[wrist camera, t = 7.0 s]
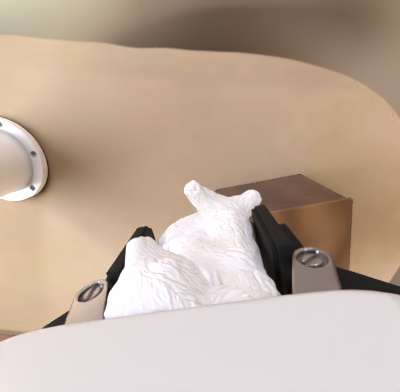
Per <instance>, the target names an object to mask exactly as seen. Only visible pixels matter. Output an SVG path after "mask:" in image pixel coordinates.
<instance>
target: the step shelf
mask: <svg viewBox="0 0 400 392" xmlns="http://www.w3.org/2000/svg"><path fill="white" fill-rule="evenodd" d="M247 190H256V191H258V192H259V194H260V197H261V198H262V201H261V203H260V205H263V204H264V205H265V206H266V207H267V209H268V210H269V212H270V213H271V214H272V216H273V217H274V219H275V220H276V221H277V223H278V224H283V223H285V224H286V225H287V226H288V227H289V229H290V230H291V231H292V232H293V234H294V235H295V236H296V237H297V239H298V240H299V241H300V243H301V244H302V245H303V246H304V247H314V248H319V249H322V250H324V251H326V252H328V253H329V254H330V255H331V256H332V257H333V259H334V262H335V266H336V267H339V268H342V269H346V270H349V263H350V243H351V223H352V204H353V199H352V198H345V197H343V196H341V195H339V194H338V193H336V192H334V191H332V190H330V189H328V188H326V187H324V186H322V185H320V184H318V183H317V182H315V181H313V180H311V179H309V178H307V177H305V176H303V175H301V174H298V175H292V176H287V177H282V178H277V179H271V180H266V181H261V182H255V183H250V184H245V185H240V186H234V187H229V188H224V189H218V190H215V191H216V193H217V194H220V195H224V196H227V197H232V196H236V195H241V194H243V193H244V192H246V191H247ZM249 219H250V221H251V222H252V223H253V219H252V215H251V216H250V217H249ZM254 241H255V242H256V239H254Z"/></svg>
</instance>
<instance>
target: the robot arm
mask: <svg viewBox="0 0 400 392" xmlns="http://www.w3.org/2000/svg"><path fill="white" fill-rule="evenodd" d="M47 175H48V168H47V162H46V158H45V156H44V153H43V151H42V149H41V148H40V146H39V144H38V143H37V141H36V140H35V139H34V138H33V137H32V135H31V134H29V133H28V132H27V131H26V130H25V129H24V128H22V127H21V126H19V125H18V124H16V123H14V122H12V121H10V120H8V119H4V118H1V117H0V198H1V199H5V200H11V201H19V200H24V199H27V198H30V197H32V196H34V195H36V194H37V193H39V192H40V191H41V190H42V188H43V187H44V185H45V183H46V181H47ZM251 213H252V219H253V224H254V230H255V235H256V237H255V239H256V244H257V245H258V247H259V249H260V253H261V258H262V262H263V267H264V269H265V271H266V274H267V276H269V277H270V278H271V279H272V280H273V281H274V283H275V285H276V289H277V290H278V292H279V293H280V294H281V296H273V297H265V298H258V299H250V300H242V301H234V302H227V303H219V304H212V305H204V306H196V307H189V308H181V309H174V310H167V311H159V312H152V313H145V314H137V315H130V316H123V317H116V318H109V319H105V317H104V312H105V310H106V306H107V303H108V301H107V299H108V295H109V293H110V291H111V290H112V288H113V287H114V285H115V284H116V283H117V281H118V279H119V276H120V274H121V272H122V270H123V269H124V268H125V256H126V245H127V244H126V245H125V247H124V248H123V250H122V251H121V253H120V254H119V256H118V257H117V259H116V260H115V262H114V263H113V264H112V266H111V267H110V269H109V270H108V272H107V273H106V274H107V276H108V277H107V278H106V280H97V281H94V282H92V283H90V284H88V285H86V286H85V287H83V288H82V289H81V290H80V291H79V292H78V293H77V294H76V296H75V298H74V300H73V302H72V305H71V308H70V310H69V311H68V312H66V313H65V314H63V315H62V316H60V317H58V318H57V319H55V320H54V321H52V322H51V323H49V324H48V325H46V326H45V327H43V328H41V329H38V330H34V331H30V332H26V333H23V334H20V335H17V336H14V337H11V338H9V339H6V340H4V341H1V342H0V392H400V287H399V286H396V285H393V284H390V283H387V282H384V281H381V280H377V279H374V278H371V277H368V276H365V275H361V274H358V273H355V272H352V271H349V270H346V269H342V268H339V267H336V266H335V262H334V259H333V257H332V256H331V255H330V254H329V253H328V252H326V251H324V250H322V249H319V248H314V247H304V246H303V245H302V244H301V243H300V241H299V240H298V239H297V237H296V236H295V235H294V234H293V232H292V231H291V230H290V229H289V227H288V226H287V225H286V224H285V223H283V224H278V223H277V221H276V220H275V219H274V217H273V216H272V214H271V213H270V212H269V210H268V209H267V207H266V206H265V205H264V204H263V205H257V206H254V209H251ZM140 236H143V237H151V238H152V239H154V240H155V237H154V234H153V231H152V229H151V228H148V226H145V227H139V228H137V229H136V231H135V232H134V234H133V235H132V237H131V238H130V240H131V239H133V238H138V237H140ZM130 240H129V241H130ZM129 241H128V242H129ZM155 241H156V240H155Z"/></svg>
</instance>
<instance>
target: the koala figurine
mask: <svg viewBox="0 0 400 392" xmlns="http://www.w3.org/2000/svg"><path fill="white" fill-rule="evenodd" d="M184 193H185V194H186V196H187V197H188V198H189V200H190V202H191V203H192V204H193V205H194V206H195V207H196V209H197V212H196V214H192V215H188V216H187V217H185V218H181V219H179V220H178V221H177V222H175V223H172V224H171V225H170V226H169V227H168V228H167V230H166V231H165V232H164V233H163V234H162V236H161V237H160V239H159V241H158V243H157V242H156V241H155V240H154V239H152V238H151V237H143V236H140V237H138V238H133V239H131V240H130V241H129V242H128V243H127V245H126V256H125V268H124V269H123V270H122V272H121V274H120V276H119V279H118V281H117V283H116V284H115V285H114V287H113V288H112V290H111V291H110V293H109V295H108V299H107V301H108V303H107V306H106V310H105V312H104V317H105V319H109V318H116V317H123V316H130V315H137V314H145V313H152V312H159V311H167V310H174V309H181V308H189V307H196V306H204V305H212V304H219V303H227V302H234V301H242V300H250V299H258V298H265V297H273V296H281V294H280V293H279V292H278V290H277V289H276V285H275V283H274V281H273V280H272V279H271V278H270V277H269V276H267V274H266V271H265V269H264V267H263V262H262V258H261V253H260V249H259V247H258V245H257V244H256V242H255V241H254V239H255V237H256V235H255V230H254V224H253V223H252V222H251V221H250V219H249V217H250V216H251V215H252V213H251V209H254V206H257V205H260V203H261V201H262V198H261V197H260V194H259V192H258V191H256V190H247V191H246V192H244V193H243V194H241V195H236V196H232V197H227V196H224V195H220V194H217V193H215V192H213V191H212V190H210V189H208V188H206V187H202V186H201V185H200V184H199V183H198V182H197V181H195V180H192V181H190V182H189V183H188V184H186V186H185V188H184Z"/></svg>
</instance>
